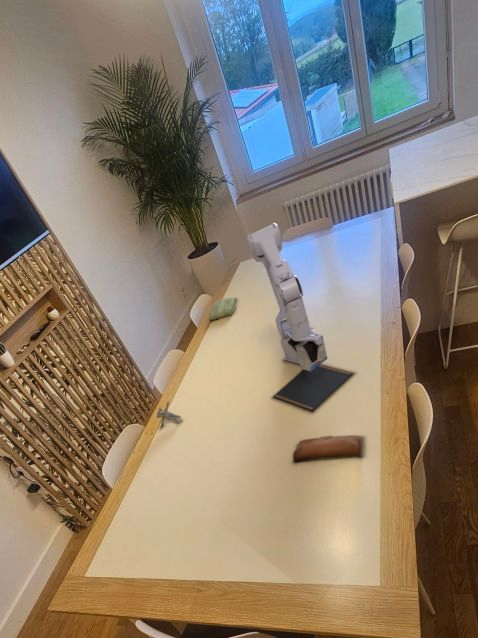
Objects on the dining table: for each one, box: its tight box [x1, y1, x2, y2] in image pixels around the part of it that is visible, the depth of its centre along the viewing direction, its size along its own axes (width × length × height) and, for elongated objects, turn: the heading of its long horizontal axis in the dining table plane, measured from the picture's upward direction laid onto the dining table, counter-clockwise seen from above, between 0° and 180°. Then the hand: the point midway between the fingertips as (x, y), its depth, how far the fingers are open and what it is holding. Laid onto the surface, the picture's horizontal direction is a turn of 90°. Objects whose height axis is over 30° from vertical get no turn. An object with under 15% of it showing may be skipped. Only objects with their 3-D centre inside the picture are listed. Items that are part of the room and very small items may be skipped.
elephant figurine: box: [156, 401, 182, 429], centre depth 150 cm, size 10×6×9 cm
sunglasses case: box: [292, 434, 363, 462], centre depth 112 cm, size 18×7×7 cm
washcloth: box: [209, 296, 238, 321], centre depth 204 cm, size 13×18×3 cm
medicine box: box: [295, 333, 328, 371], centre depth 129 cm, size 8×4×9 cm, turn 127°
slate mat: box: [272, 364, 354, 413], centre depth 136 cm, size 18×20×1 cm
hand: (309, 358), depth 130 cm, fingers closed on medicine box, 4 cm apart
